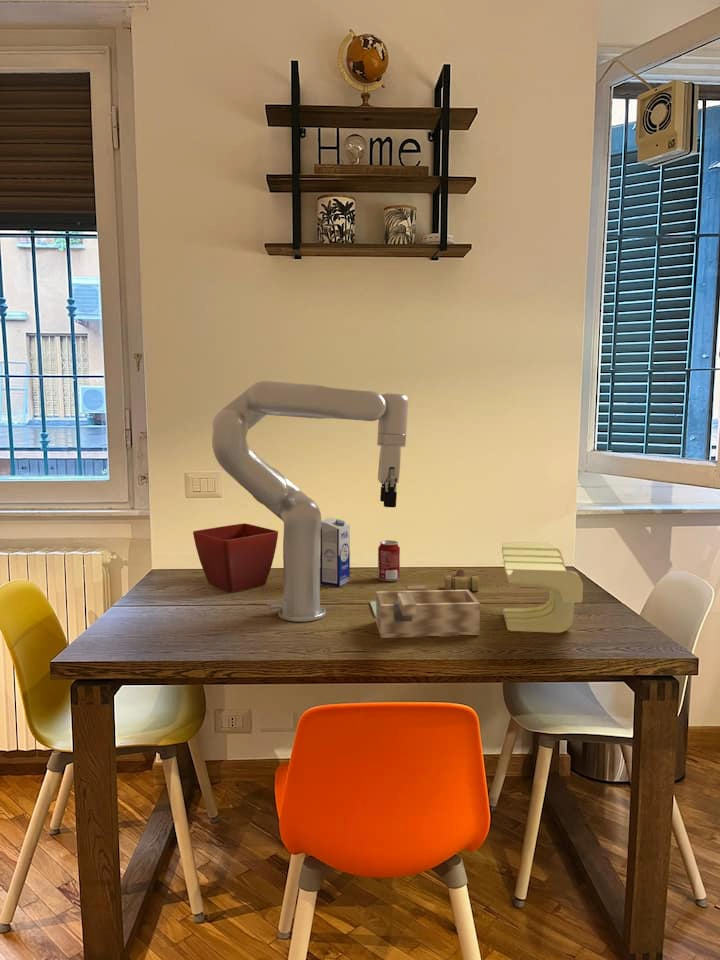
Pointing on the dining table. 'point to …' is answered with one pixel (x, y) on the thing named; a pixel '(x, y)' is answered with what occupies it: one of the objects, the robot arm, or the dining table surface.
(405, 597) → the bar
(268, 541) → the plant pot
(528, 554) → the slatted curved stool
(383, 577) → the soda can
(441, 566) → the dining table surface
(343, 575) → the milk carton
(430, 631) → the toolbox
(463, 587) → the gavel
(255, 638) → the dining table surface
